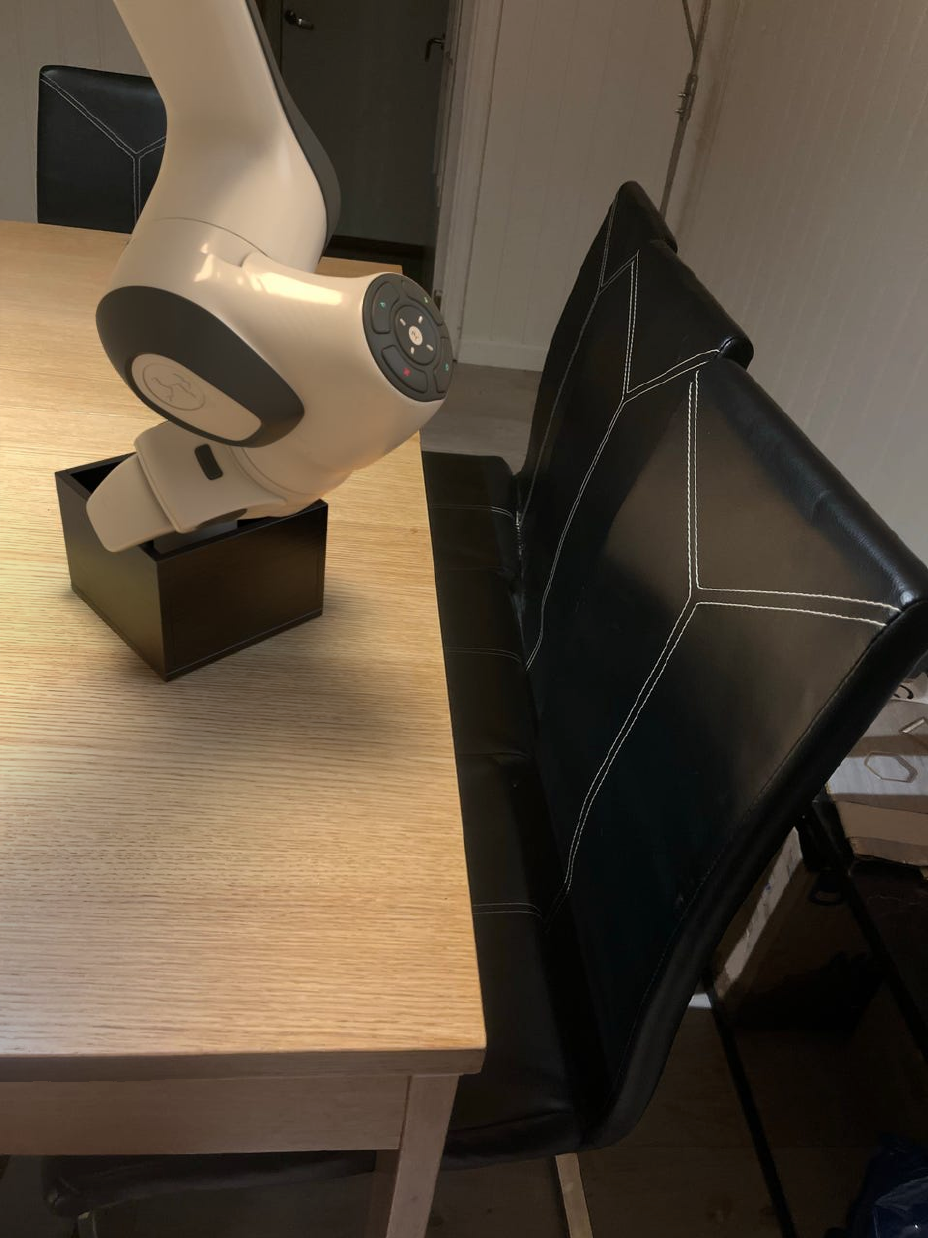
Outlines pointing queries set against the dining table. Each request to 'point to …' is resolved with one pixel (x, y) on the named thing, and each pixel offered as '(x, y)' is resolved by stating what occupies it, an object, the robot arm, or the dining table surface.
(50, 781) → the dining table surface
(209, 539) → the dark storage bin
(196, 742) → the dining table surface
